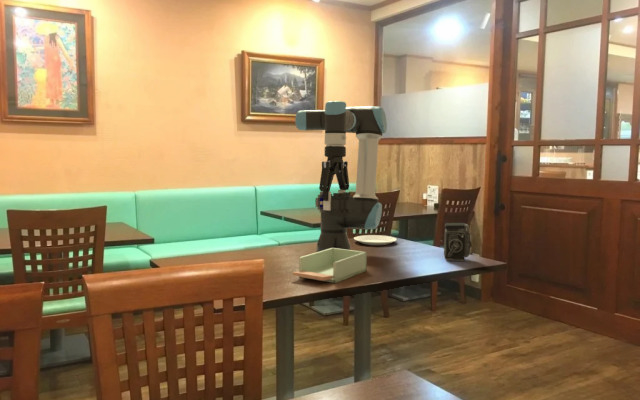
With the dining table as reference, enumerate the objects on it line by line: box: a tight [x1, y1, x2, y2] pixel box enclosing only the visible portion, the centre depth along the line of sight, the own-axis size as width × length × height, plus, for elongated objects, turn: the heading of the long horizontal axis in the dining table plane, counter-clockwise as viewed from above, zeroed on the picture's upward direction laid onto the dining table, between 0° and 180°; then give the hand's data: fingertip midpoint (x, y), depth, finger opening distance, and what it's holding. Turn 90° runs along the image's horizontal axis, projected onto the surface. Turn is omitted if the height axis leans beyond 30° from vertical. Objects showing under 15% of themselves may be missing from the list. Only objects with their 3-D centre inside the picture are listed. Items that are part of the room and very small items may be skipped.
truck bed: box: [298, 248, 368, 284], centre depth 183 cm, size 15×22×7 cm
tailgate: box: [292, 270, 333, 281], centre depth 172 cm, size 12×1×7 cm
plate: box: [353, 234, 398, 246], centre depth 247 cm, size 21×21×2 cm
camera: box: [443, 222, 473, 262], centre depth 208 cm, size 10×10×15 cm
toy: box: [314, 190, 355, 218], centre depth 181 cm, size 9×9×15 cm
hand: (334, 208), depth 181 cm, fingers closed on toy, 9 cm apart
